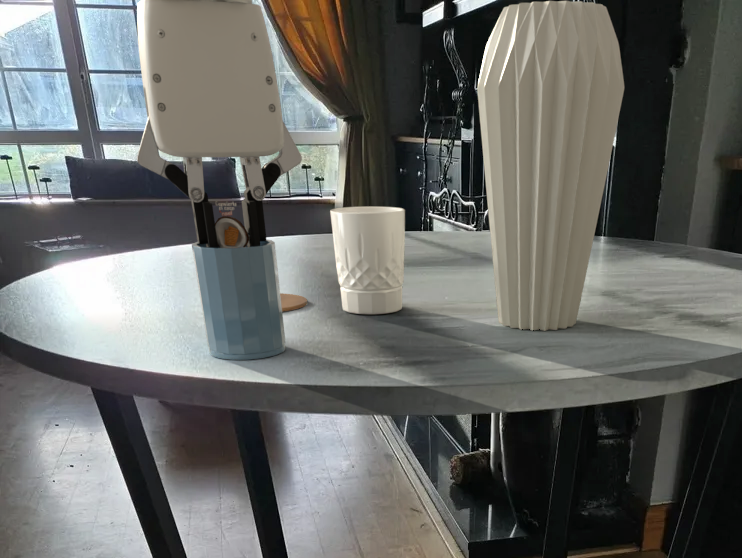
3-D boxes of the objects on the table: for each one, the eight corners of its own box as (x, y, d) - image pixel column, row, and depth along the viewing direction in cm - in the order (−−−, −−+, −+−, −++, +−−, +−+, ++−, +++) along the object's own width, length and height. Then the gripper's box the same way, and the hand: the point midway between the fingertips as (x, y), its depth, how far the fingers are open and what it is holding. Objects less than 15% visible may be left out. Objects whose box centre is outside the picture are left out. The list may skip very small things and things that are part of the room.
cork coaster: (224, 316, 84) (224, 312, 84) (213, 300, 92) (212, 296, 91) (315, 309, 87) (315, 305, 87) (297, 294, 95) (297, 290, 95)
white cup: (397, 300, 91) (394, 205, 86) (415, 313, 85) (413, 211, 80) (331, 304, 89) (324, 207, 84) (344, 318, 83) (337, 214, 78)
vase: (541, 343, 73) (562, -9, 59) (446, 321, 81) (446, 8, 68) (627, 323, 81) (663, 6, 67) (532, 304, 89) (547, 20, 75)
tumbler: (214, 363, 67) (196, 250, 63) (205, 345, 73) (188, 240, 68) (292, 355, 69) (280, 245, 65) (277, 339, 75) (266, 236, 70)
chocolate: (257, 250, 68) (251, 199, 65) (248, 254, 66) (241, 201, 64) (224, 250, 68) (217, 198, 66) (214, 253, 66) (206, 201, 64)
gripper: (297, -6, 63) (317, 243, 72) (79, -18, 58) (131, 251, 67) (318, -20, 57) (337, 253, 66) (77, -35, 52) (135, 263, 61)
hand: (233, 250), depth 67 cm, fingers closed on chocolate, 2 cm apart
